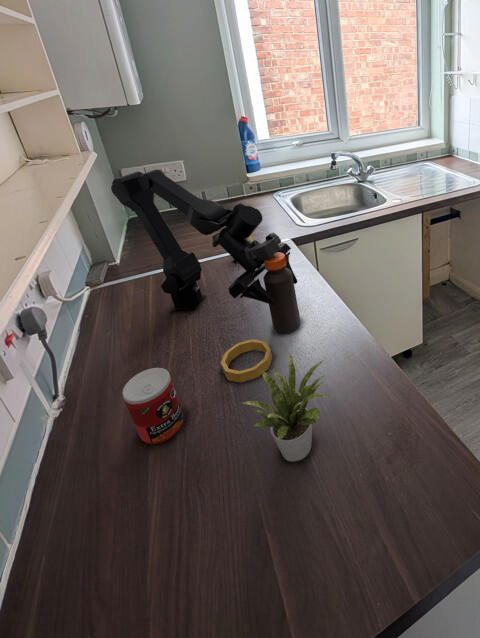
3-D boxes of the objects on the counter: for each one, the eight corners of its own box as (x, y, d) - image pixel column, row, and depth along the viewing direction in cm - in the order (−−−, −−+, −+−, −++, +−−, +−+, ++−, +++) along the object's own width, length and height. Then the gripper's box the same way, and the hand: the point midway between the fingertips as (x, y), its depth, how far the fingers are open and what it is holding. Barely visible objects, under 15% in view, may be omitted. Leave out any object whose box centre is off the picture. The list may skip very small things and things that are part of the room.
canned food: (155, 453, 72) (136, 408, 67) (131, 433, 76) (112, 389, 71) (193, 420, 78) (179, 377, 73) (169, 403, 82) (154, 361, 77)
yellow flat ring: (217, 384, 86) (214, 375, 85) (233, 349, 95) (230, 340, 94) (264, 381, 86) (262, 372, 85) (275, 346, 95) (274, 337, 94)
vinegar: (268, 327, 102) (253, 258, 94) (290, 314, 107) (278, 247, 99) (283, 338, 98) (269, 267, 90) (306, 324, 102) (294, 255, 95)
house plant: (354, 418, 76) (346, 350, 70) (328, 493, 63) (315, 419, 57) (285, 407, 79) (271, 341, 73) (247, 476, 67) (227, 404, 60)
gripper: (228, 247, 85) (280, 299, 86) (278, 213, 101) (322, 257, 102) (207, 274, 91) (256, 322, 91) (258, 237, 107) (300, 279, 107)
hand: (286, 293), depth 98 cm, fingers open, 9 cm apart
